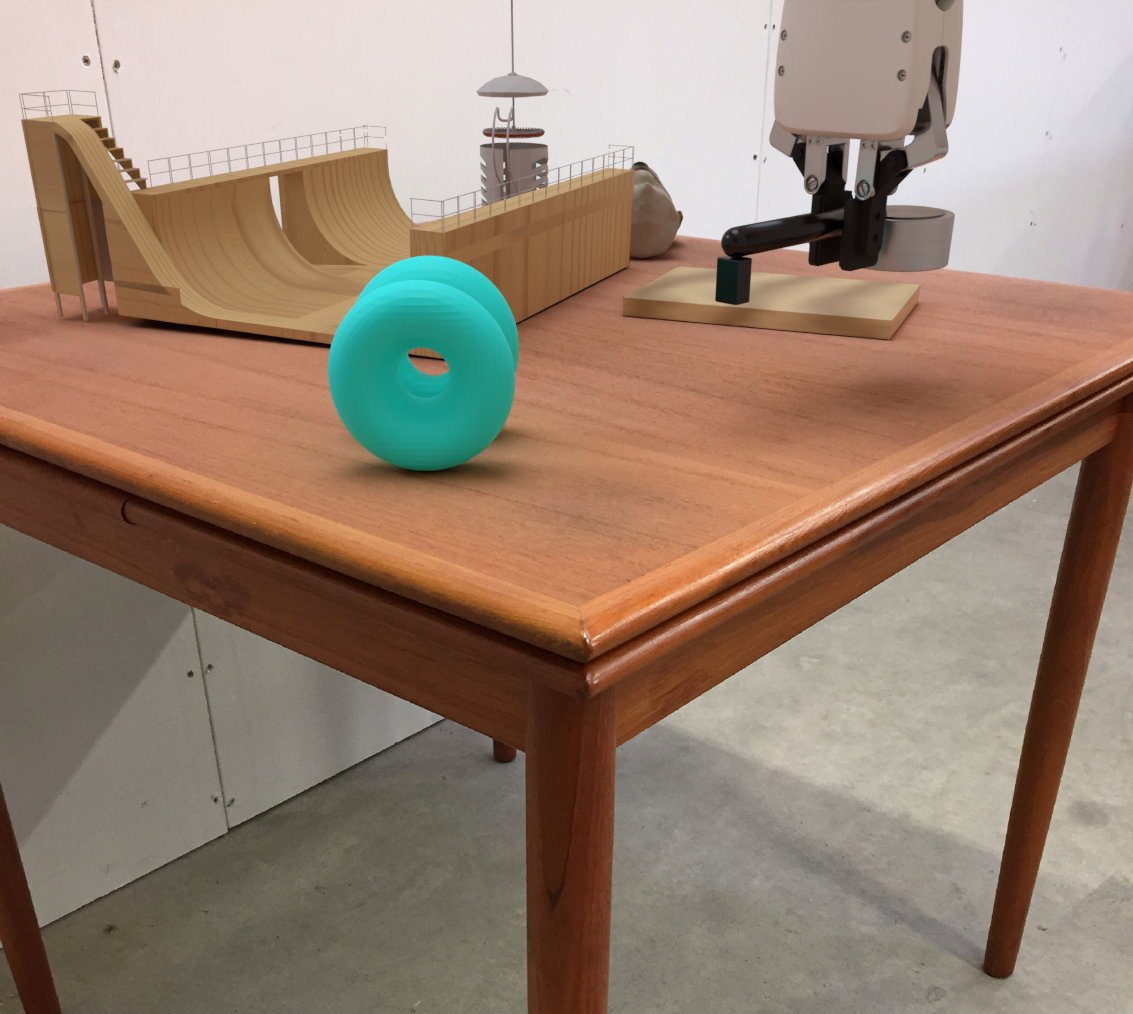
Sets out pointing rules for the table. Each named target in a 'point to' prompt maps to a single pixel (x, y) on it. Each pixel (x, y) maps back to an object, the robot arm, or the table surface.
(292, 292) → the skate ramp
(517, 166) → the bird feeder
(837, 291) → the cutting board
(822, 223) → the saucepan
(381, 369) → the donuts
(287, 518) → the table surface
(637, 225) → the ceramic sculpture
